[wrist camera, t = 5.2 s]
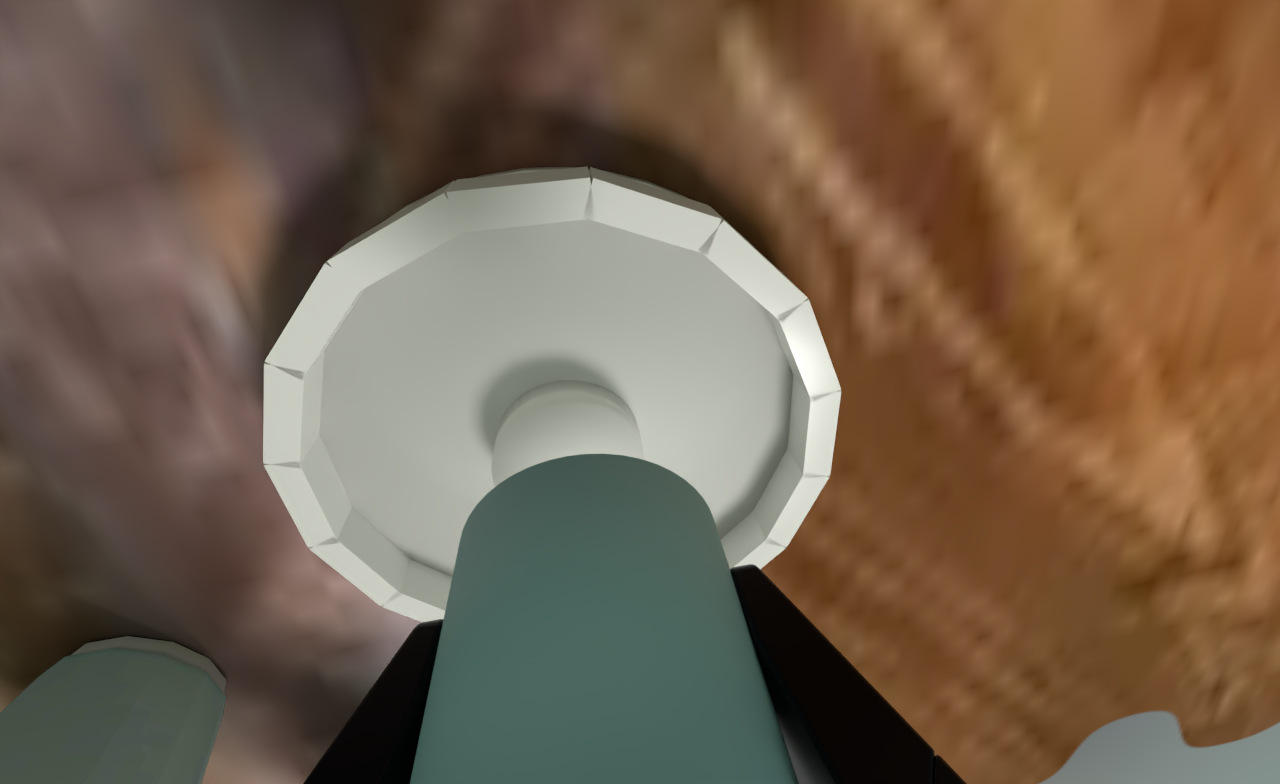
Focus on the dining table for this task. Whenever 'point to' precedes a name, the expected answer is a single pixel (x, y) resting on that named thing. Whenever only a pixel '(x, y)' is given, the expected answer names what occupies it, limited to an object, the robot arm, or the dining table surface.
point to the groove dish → (540, 371)
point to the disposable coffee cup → (115, 717)
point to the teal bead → (596, 640)
